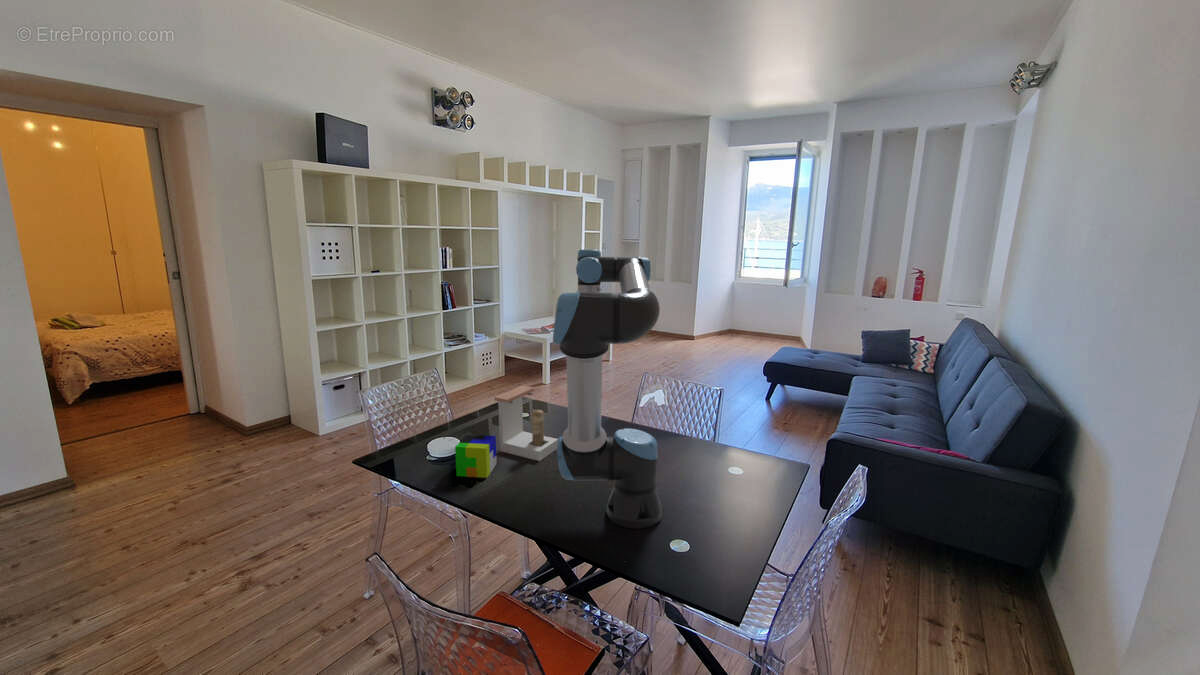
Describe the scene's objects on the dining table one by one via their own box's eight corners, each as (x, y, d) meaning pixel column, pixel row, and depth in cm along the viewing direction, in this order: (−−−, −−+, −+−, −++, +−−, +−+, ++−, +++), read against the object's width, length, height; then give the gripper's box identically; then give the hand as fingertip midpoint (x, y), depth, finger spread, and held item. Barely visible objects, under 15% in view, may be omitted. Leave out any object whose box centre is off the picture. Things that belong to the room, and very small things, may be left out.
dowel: (539, 455, 172) (539, 414, 169) (530, 452, 174) (529, 412, 171) (546, 450, 176) (545, 411, 173) (536, 448, 178) (536, 409, 175)
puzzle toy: (496, 463, 165) (495, 436, 163) (487, 478, 155) (485, 448, 154) (467, 462, 166) (466, 434, 164) (456, 476, 156) (455, 446, 155)
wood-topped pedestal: (508, 446, 170) (507, 399, 167) (496, 443, 173) (494, 397, 169) (535, 431, 184) (534, 387, 181) (523, 428, 187) (522, 385, 183)
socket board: (539, 461, 167) (539, 451, 167) (500, 451, 175) (499, 441, 174) (558, 448, 178) (558, 439, 177) (520, 439, 186) (519, 430, 185)
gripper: (580, 302, 147) (580, 370, 151) (616, 294, 169) (615, 354, 173) (559, 300, 150) (559, 367, 154) (596, 293, 172) (596, 352, 176)
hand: (588, 361), depth 163 cm, fingers open, 13 cm apart
